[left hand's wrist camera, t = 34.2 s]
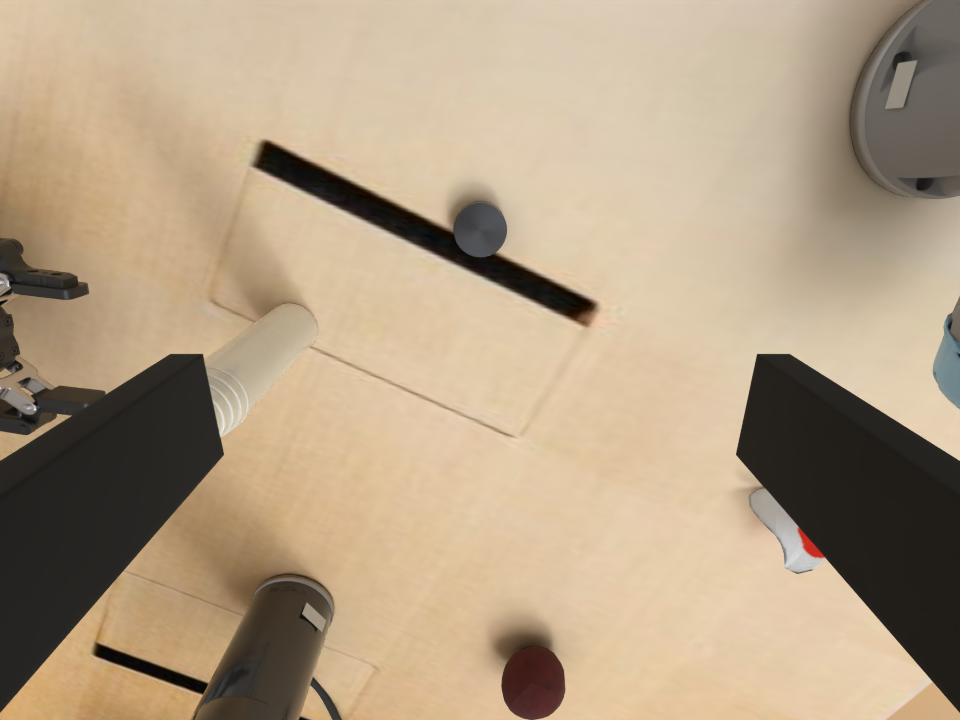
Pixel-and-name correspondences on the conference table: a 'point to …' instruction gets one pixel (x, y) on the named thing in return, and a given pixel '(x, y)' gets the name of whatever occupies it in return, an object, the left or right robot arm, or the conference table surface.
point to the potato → (533, 683)
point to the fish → (786, 533)
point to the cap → (480, 229)
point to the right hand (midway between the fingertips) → (90, 349)
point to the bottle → (257, 362)
